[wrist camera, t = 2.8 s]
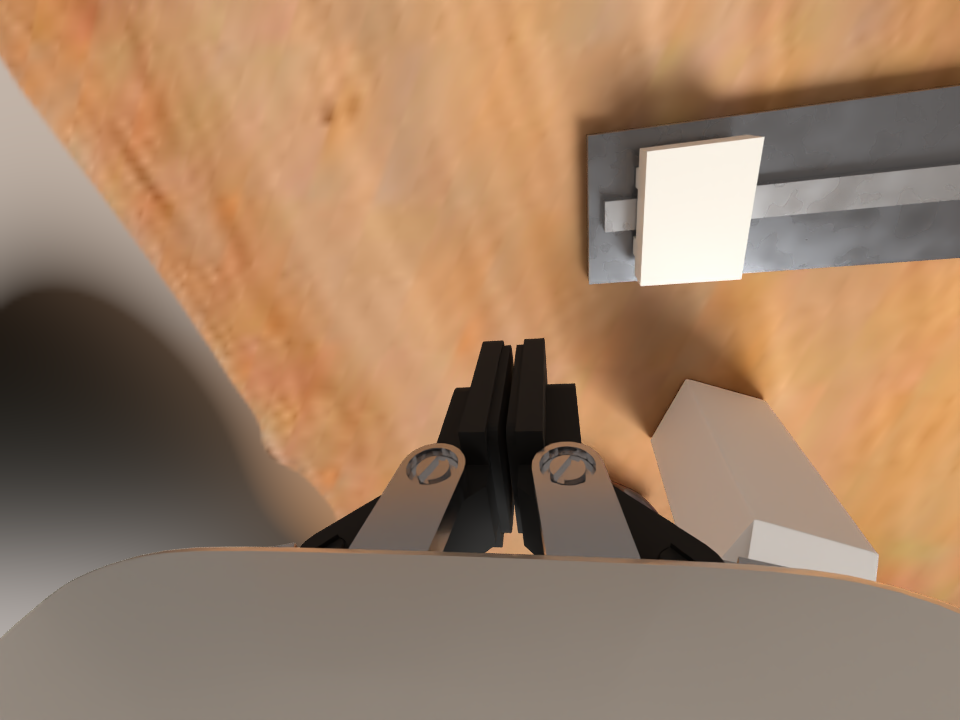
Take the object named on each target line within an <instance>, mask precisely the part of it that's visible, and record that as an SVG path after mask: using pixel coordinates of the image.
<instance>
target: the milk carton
mask: <svg viewBox="0 0 960 720" xmlns="http://www.w3.org/2000/svg"><path fill="white" fill-rule="evenodd" d="M651 443H652V447H653V450H654V454H655V457H656V460H657V464H658V467H659V471H660V474H661V477H662V481H663V484H664V488H665V491H666V494H667V498H668V501H669V505H670V508H671V512H672V515H673V518H674V522H675V525H676V526H678V527H679V528H681V529H683V530H684V531H686V532H687V533H689V534H690V535H692V536H694V537H695V538H697V539H698V540H700V541H701V542H703V543H705V544H706V545H707V546H709V547H710V548H711V549H712V550H714V551H715V552H716V553H717V554H718V555H719V556H720V557H721V558H722V560H727V561H731V562H736V563H737V560H738V557H743V558H748V559H752V560H757V561H762V562H766V563H771V564H776V565H780V566H785V567H790V568H802V569H810V570H817V571H824V572H830V573H837V574H844V575H849V576H854V577H858V578H863V579H867V580H871V581H876V576H877V567H878V557H879V555H878V554H877V552H876V551H875V550H874V548H873V547H872V546H871V544H870V543H869V542H868V540H867V539H866V537H865V536H864V535H863V533H862V532H861V531H860V529H859V528H858V526H857V525H856V524H855V522H854V521H853V520H852V518H851V517H850V516H849V514H848V513H847V511H846V510H845V509H844V507H843V506H842V505H841V503H840V502H839V500H838V499H837V498H836V496H835V495H834V494H833V492H832V491H831V490H830V488H829V487H828V485H827V484H826V483H825V481H824V480H823V479H822V477H821V476H820V474H819V473H818V472H817V470H816V469H815V468H814V466H813V465H812V464H811V462H810V461H809V459H808V458H807V457H806V455H805V454H804V453H803V451H802V450H801V448H800V447H799V446H798V444H797V443H796V442H795V440H794V439H793V438H792V436H791V435H790V433H789V432H788V431H787V429H786V428H785V427H784V425H783V424H782V422H781V421H780V420H779V418H778V417H777V416H776V414H775V413H774V412H773V410H772V409H771V407H770V406H769V405H768V403H767V402H766V401H764V400H762V399H758V398H755V397H751V396H747V395H744V394H740V393H737V392H733V391H729V390H726V389H722V388H719V387H715V386H712V385H708V384H704V383H701V382H697V381H693V380H689V379H686V380H685V381H684V383H683V385H682V386H681V388H680V390H679V392H678V393H677V395H676V397H675V398H674V400H673V402H672V404H671V405H670V407H669V409H668V410H667V412H666V414H665V416H664V417H663V419H662V421H661V423H660V424H659V426H658V428H657V429H656V431H655V433H654V435H653V436H652V438H651Z"/></svg>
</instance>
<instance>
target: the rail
mask: <svg viewBox="0 0 960 720" xmlns="http://www.w3.org/2000/svg"><path fill="white" fill-rule="evenodd" d="M741 135H753V136H761V137H764V143H763V149H762V155H761V161H760V168H759V174H758V180H757V186H756V192H755V198H754V204H753V210H752V216H751V222H750V228H749V234H748V241H747V247H746V253H745V259H744V265H743V271H742V273H754V272H768V271H782V270H796V269H810V268H824V267H838V266H852V265H866V264H880V263H894V262H908V261H922V260H936V259H950V258H960V84H959V85H951V86H944V87H936V88H929V89H922V90H914V91H907V92H899V93H892V94H885V95H877V96H870V97H862V98H855V99H848V100H840V101H833V102H825V103H818V104H811V105H803V106H796V107H789V108H781V109H774V110H766V111H759V112H752V113H744V114H737V115H729V116H722V117H715V118H707V119H700V120H692V121H685V122H678V123H670V124H663V125H656V126H648V127H641V128H633V129H626V130H619V131H611V132H604V133H596V134H589V135H586V147H587V241H588V281H589V284H601V283H615V282H629V281H638V280H637V278H636V276H635V274H634V271H635V256H634V254H633V236H636V223H637V200H638V189H637V188H636V187H635V185H636V168H637V167H639V152H640V148H646V147H654V146H662V145H670V144H678V143H686V142H694V141H702V140H709V139H717V138H725V137H733V136H741Z"/></svg>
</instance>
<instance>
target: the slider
mask: <svg viewBox="0 0 960 720" xmlns="http://www.w3.org/2000/svg"><path fill="white" fill-rule="evenodd" d="M763 143H764V137H761V136H753V135H741V136H733V137H725V138H717V139H709V140H702V141H694V142H686V143H678V144H670V145H662V146H654V147H646V148H640V152H639V167H637V168H636V185H635V187H636V188H637V189H638V200H637V223H636V236H633V254H634V256H635V271H634V274H635V276H636V278H637V280H638V282H639V284H640V286H651V285H665V284H680V283H694V282H708V281H723V280H737V279H741V277H742V271H743V265H744V259H745V253H746V247H747V241H748V234H749V228H750V222H751V216H752V210H753V204H754V198H755V192H756V186H757V180H758V174H759V168H760V161H761V155H762V149H763Z"/></svg>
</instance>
